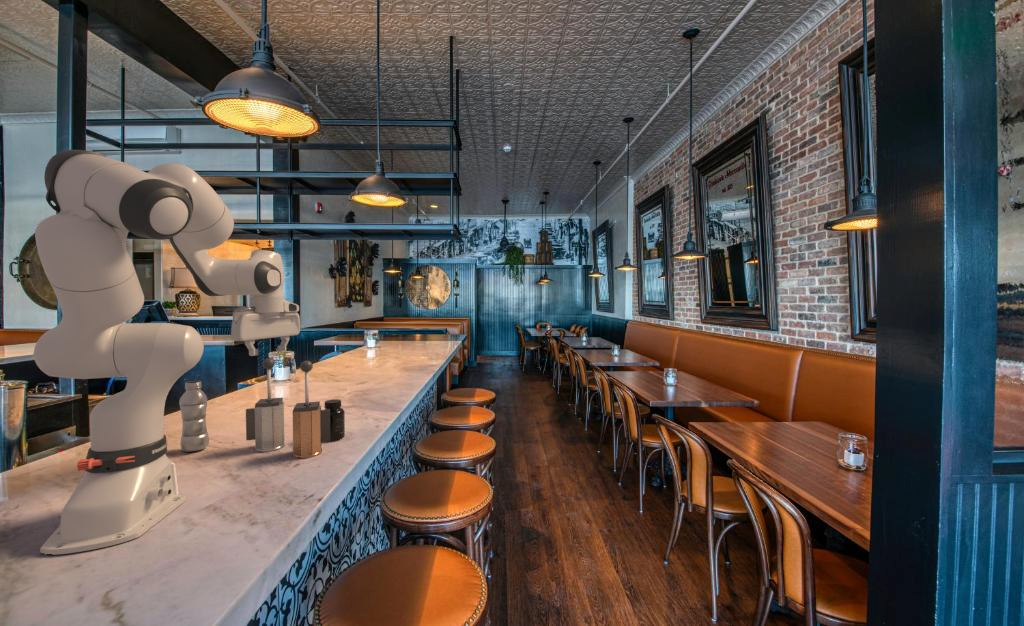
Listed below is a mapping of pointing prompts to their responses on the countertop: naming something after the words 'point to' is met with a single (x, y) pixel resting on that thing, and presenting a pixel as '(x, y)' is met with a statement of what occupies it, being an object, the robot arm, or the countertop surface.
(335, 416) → the supplement bottle
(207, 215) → the robot arm
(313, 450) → the copper press
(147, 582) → the countertop surface
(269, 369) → the steel plunger
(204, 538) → the countertop surface
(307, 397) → the ball knob lever
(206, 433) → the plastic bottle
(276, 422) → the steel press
